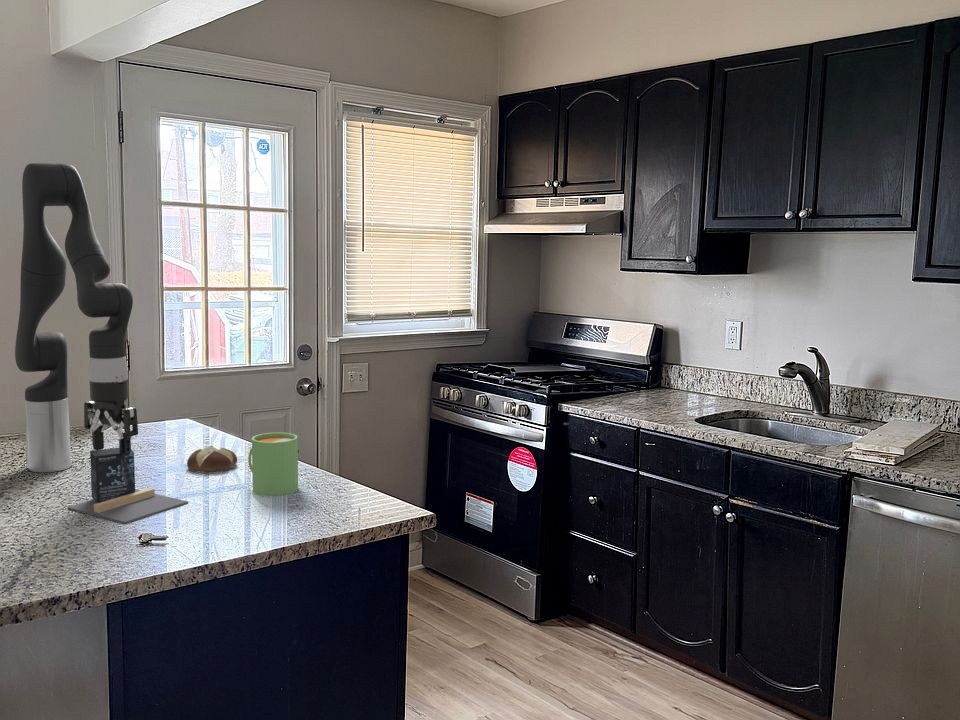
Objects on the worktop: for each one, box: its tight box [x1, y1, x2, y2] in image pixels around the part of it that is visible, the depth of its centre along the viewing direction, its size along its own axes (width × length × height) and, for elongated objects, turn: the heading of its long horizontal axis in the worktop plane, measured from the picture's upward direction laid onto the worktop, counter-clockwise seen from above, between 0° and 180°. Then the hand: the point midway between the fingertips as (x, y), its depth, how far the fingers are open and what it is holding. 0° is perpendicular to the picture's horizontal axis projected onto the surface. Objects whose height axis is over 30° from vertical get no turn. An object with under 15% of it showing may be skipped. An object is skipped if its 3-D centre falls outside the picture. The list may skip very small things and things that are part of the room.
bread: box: [186, 445, 238, 473], centre depth 214 cm, size 11×11×5 cm
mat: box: [66, 487, 189, 525], centre depth 183 cm, size 18×16×2 cm
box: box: [89, 447, 136, 503], centre depth 186 cm, size 8×6×11 cm
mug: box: [247, 432, 300, 497], centre depth 197 cm, size 13×10×12 cm
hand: (111, 452), depth 185 cm, fingers open, 8 cm apart
